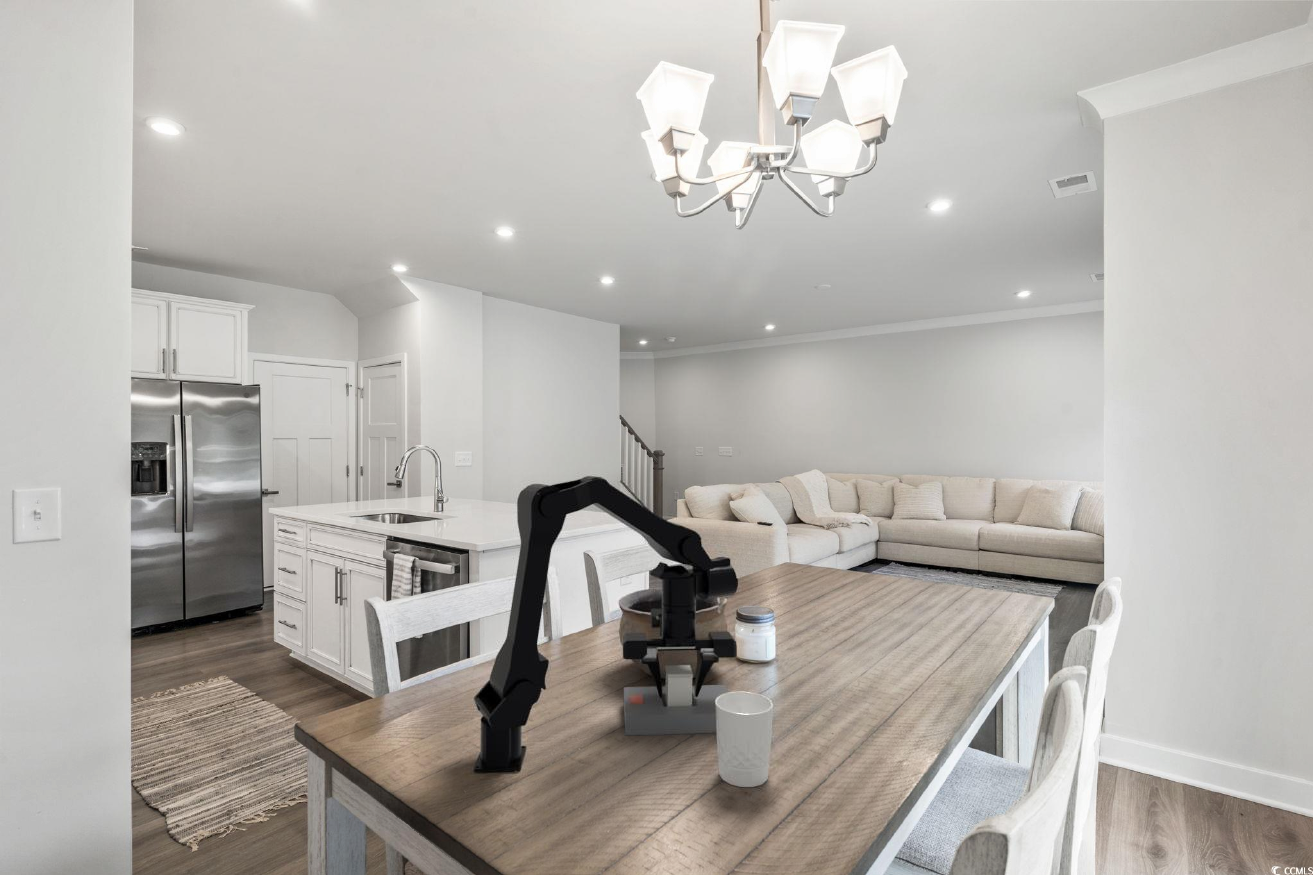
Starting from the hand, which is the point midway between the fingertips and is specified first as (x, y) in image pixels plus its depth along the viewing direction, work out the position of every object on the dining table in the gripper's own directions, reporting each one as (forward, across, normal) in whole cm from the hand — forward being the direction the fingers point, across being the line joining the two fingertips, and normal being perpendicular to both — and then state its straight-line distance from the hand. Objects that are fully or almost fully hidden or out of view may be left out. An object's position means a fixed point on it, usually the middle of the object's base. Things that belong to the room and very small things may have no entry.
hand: (678, 696), depth 107 cm
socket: (+4, 0, 0) cm, 4 cm away
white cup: (+4, -7, +19) cm, 21 cm away
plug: (+4, 0, 0) cm, 4 cm away
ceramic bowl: (+4, -1, -21) cm, 21 cm away
